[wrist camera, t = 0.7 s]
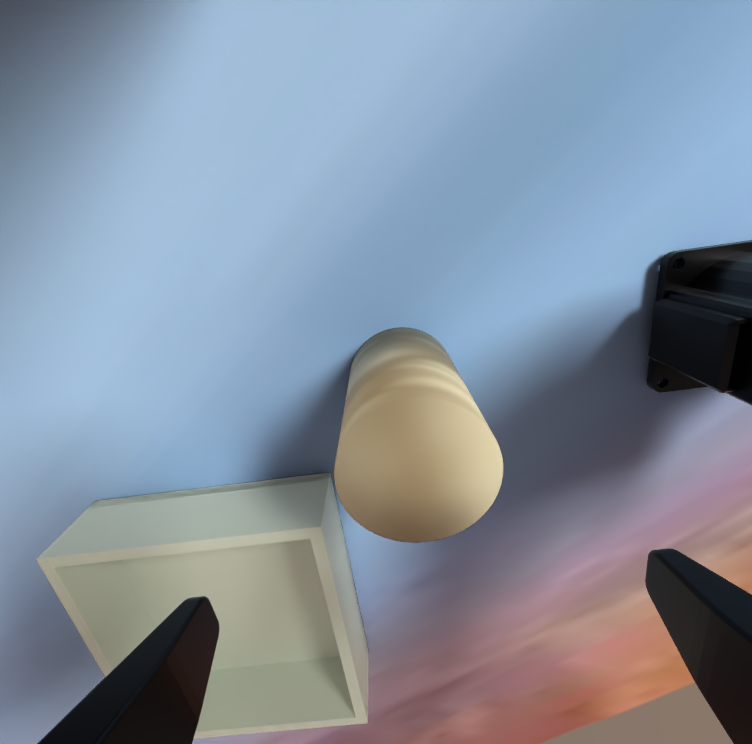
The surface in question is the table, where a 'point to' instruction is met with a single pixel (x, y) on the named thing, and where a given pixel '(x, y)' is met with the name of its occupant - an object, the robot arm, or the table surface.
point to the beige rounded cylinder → (413, 442)
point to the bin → (228, 595)
